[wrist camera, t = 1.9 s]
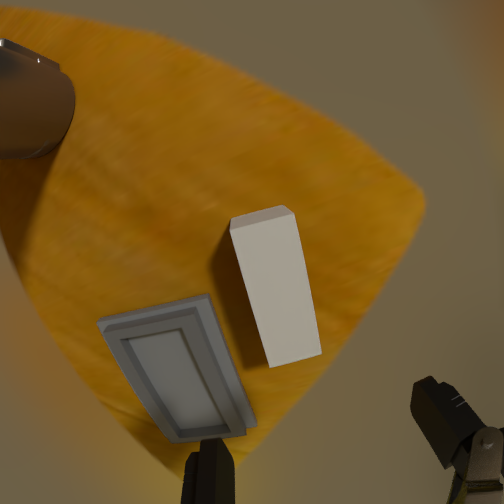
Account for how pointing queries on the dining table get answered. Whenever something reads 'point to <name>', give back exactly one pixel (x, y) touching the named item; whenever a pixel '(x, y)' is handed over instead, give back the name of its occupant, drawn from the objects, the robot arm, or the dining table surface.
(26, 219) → the dining table surface
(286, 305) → the off-white tapered block
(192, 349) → the cradle
